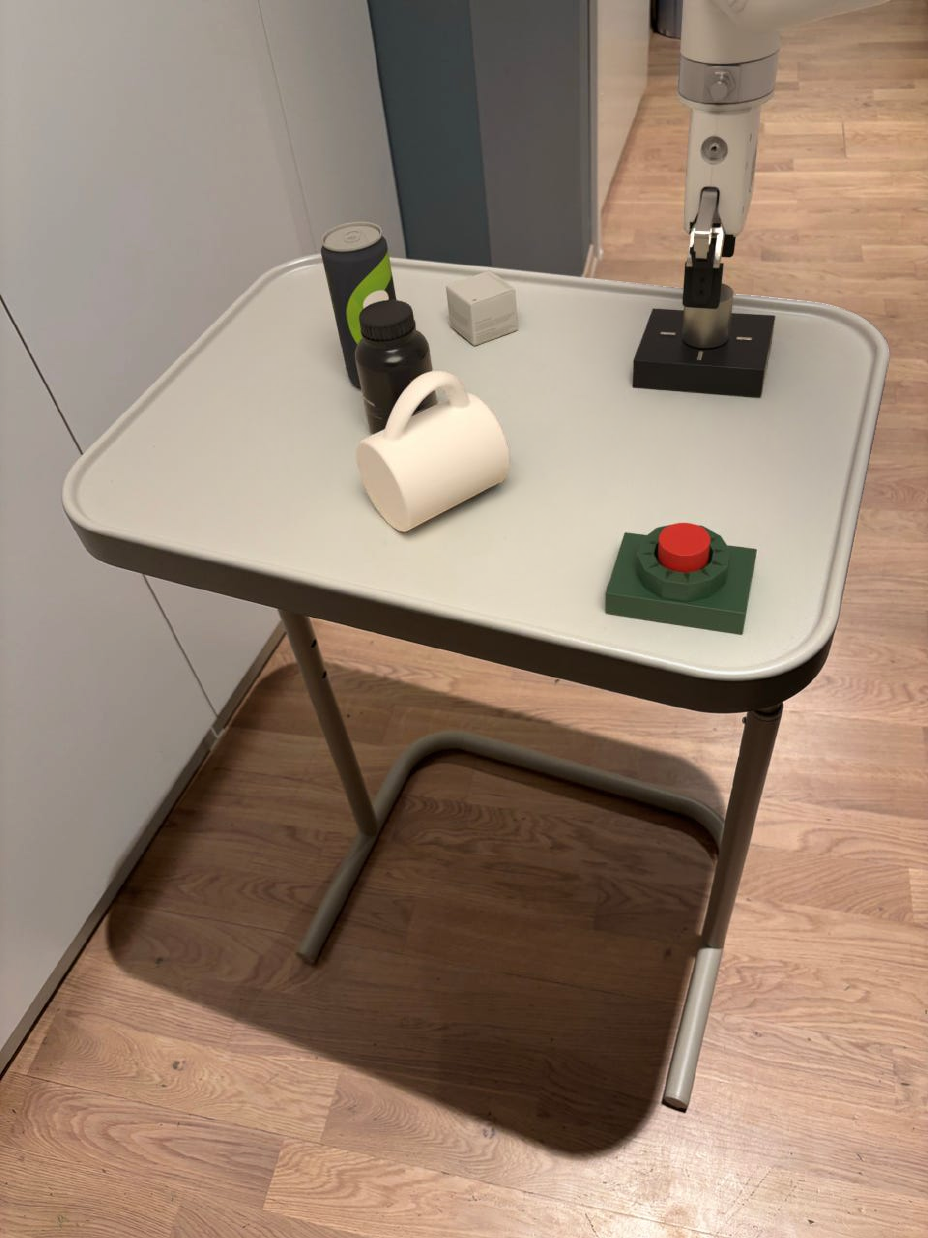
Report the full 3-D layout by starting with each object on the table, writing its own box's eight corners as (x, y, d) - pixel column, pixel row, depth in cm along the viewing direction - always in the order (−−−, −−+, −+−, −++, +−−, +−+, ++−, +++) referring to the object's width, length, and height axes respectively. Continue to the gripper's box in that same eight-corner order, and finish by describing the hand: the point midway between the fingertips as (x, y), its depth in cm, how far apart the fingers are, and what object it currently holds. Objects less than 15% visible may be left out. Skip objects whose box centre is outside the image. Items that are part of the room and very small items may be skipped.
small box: (520, 330, 101) (517, 287, 97) (473, 347, 99) (468, 304, 96) (493, 310, 105) (490, 267, 101) (448, 326, 103) (443, 284, 100)
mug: (365, 503, 83) (337, 384, 74) (460, 455, 86) (445, 336, 78) (415, 549, 78) (391, 428, 69) (514, 496, 81) (504, 375, 73)
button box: (753, 569, 72) (759, 530, 69) (742, 635, 68) (748, 595, 65) (624, 552, 75) (624, 513, 72) (605, 613, 70) (605, 575, 68)
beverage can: (350, 365, 100) (319, 224, 89) (408, 357, 99) (384, 216, 89) (348, 397, 95) (316, 253, 85) (409, 389, 95) (384, 244, 84)
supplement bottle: (356, 439, 90) (330, 324, 81) (393, 401, 94) (371, 288, 85) (418, 454, 87) (398, 336, 79) (453, 414, 91) (437, 298, 83)
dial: (732, 326, 91) (737, 279, 88) (725, 350, 88) (730, 302, 85) (686, 323, 92) (689, 277, 89) (678, 346, 90) (681, 299, 86)
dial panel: (771, 342, 94) (775, 313, 92) (760, 397, 88) (764, 368, 85) (651, 334, 97) (652, 306, 95) (632, 387, 91) (633, 358, 89)
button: (711, 543, 69) (713, 525, 68) (704, 576, 67) (706, 558, 66) (662, 537, 70) (663, 519, 69) (653, 569, 68) (654, 551, 67)
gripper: (764, 115, 68) (738, 331, 80) (786, 39, 79) (761, 239, 91) (659, 115, 70) (650, 325, 82) (695, 40, 81) (682, 236, 93)
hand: (708, 280), depth 86 cm, fingers open, 9 cm apart
